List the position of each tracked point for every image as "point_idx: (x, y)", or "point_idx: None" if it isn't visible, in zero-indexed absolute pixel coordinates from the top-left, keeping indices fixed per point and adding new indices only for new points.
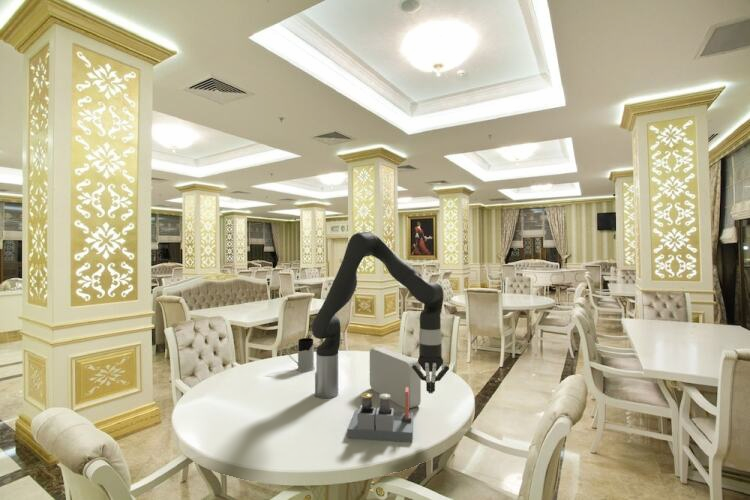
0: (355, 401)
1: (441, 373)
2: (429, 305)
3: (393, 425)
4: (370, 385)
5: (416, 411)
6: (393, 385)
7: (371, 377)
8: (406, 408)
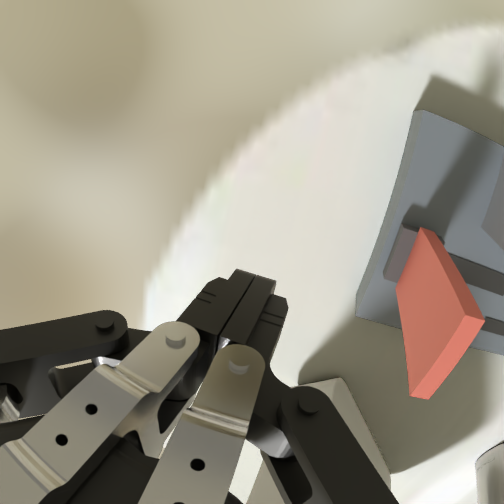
0: (468, 430)
1: (31, 353)
2: None
3: (490, 203)
4: (390, 481)
5: (315, 358)
6: None
7: None
8: (443, 253)
